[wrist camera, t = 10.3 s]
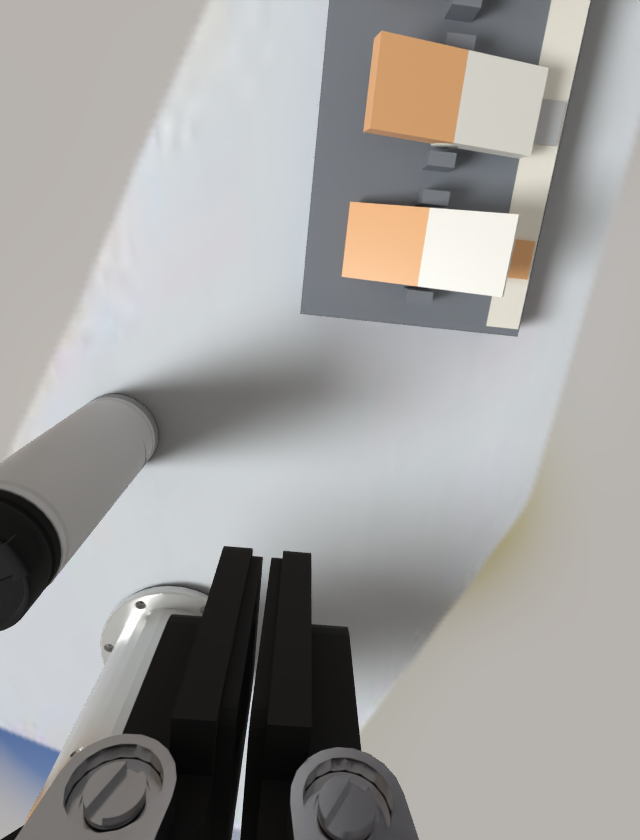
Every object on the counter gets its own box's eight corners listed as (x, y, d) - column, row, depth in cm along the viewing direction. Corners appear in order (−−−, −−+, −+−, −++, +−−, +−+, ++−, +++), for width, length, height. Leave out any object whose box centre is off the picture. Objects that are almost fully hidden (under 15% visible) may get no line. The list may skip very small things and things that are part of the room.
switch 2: (505, 296, 32) (501, 297, 31) (352, 276, 36) (341, 276, 34) (521, 217, 31) (518, 214, 29) (360, 205, 34) (350, 201, 33)
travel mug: (177, 448, 42) (62, 614, 23) (105, 479, 43) (-63, 664, 24) (137, 378, 40) (-23, 495, 21) (63, 412, 41) (-155, 554, 22)
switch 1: (511, 160, 33) (530, 156, 31) (358, 134, 30) (370, 128, 29) (527, 77, 32) (548, 67, 30) (369, 43, 29) (381, 30, 27)
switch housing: (502, 330, 39) (528, 341, 35) (301, 308, 39) (299, 317, 34) (595, -109, 31) (645, -173, 27) (343, -144, 31) (348, -216, 26)
